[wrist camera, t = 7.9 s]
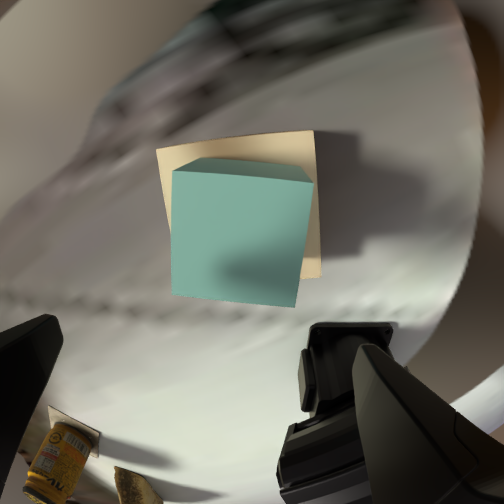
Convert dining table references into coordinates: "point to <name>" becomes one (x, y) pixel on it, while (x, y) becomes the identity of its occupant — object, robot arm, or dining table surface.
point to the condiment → (60, 460)
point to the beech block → (258, 150)
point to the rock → (134, 488)
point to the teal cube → (239, 230)
